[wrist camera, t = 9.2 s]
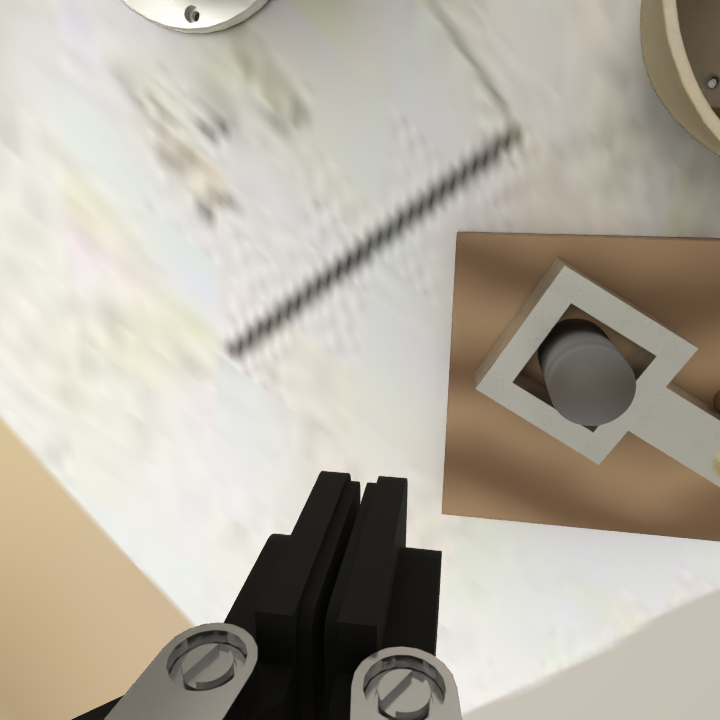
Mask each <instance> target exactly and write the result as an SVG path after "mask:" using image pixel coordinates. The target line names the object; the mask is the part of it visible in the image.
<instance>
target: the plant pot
mask: <svg viewBox="0 0 720 720" xmlns="http://www.w3.org/2000/svg"><path fill="white" fill-rule="evenodd" d="M640 33H641V45H642V52H643V58H644V62H645V66H646V70H647V73H648V76H649V78H650V81H651V83H652V85H653V88H654V89H655V91H656V93H657V95H658V97H659V98H660V100H661V102H662V103H663V105H664V106H665V107H666V109H667V110H668V112H669V113H670V114H671V115H672V117H673V118H674V119H675V120H676V121H677V122H678V123H679V124H680V125H681V126H682V127H683V128H684V129H685V130H686V131H687V132H688V133H689V134H690V135H691V136H692V137H694V138H695V139H696V140H697V141H699V142H700V143H701V144H702V145H704V146H705V147H706V148H708V149H709V150H711V151H712V152H714V153H715V154H717V155H718V156H719V157H720V0H642V1H641V13H640ZM712 77H717V78H718V83H717V85H716V86H715V87H714V88H709V86H708V81H709V80H710V78H712Z"/></svg>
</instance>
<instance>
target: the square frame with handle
mask: <svg viewBox="0 0 720 720" xmlns="http://www.w3.org/2000/svg"><path fill="white" fill-rule="evenodd" d="M571 303H572V304H573V305H575V306H577V307H578V308H580V309H581V310H583V311H585V312H586V313H588V314H590V315H591V316H593V317H594V318H596V319H598V320H599V321H601V322H602V323H604V324H606V325H607V326H609V327H610V328H612V329H614V330H615V331H617V332H619V333H620V334H622V335H623V336H625V337H627V338H628V339H630V340H631V341H633V342H635V343H636V344H638V345H637V347H636V348H635V349H634V350H633V352H632V353H631V354H630V355H629V357H628V358H627V359H626V361H627V363H628V364H629V365H630V367H631V369H632V370H633V373H634V375H635V379H636V392H635V396H634V399H633V401H632V403H631V405H630V406H629V408H628V409H627V410H626V411H625V412H624V413H623V414H622V415H621V416H620V417H618V418H617V419H615V420H613V421H611V422H609V423H606V424H603V425H598V426H584V425H579V424H575V423H573V422H571V421H569V420H567V419H565V418H564V417H563V416H562V415H561V414H559V412H558V411H557V410H556V409H555V407H554V405H553V403H552V401H551V398H550V395H549V392H548V389H547V388H545V387H544V386H542V385H540V384H539V383H537V382H536V381H534V380H532V379H531V378H529V377H527V376H526V375H524V374H523V373H521V372H520V371H521V370H522V369H523V367H524V366H525V365H526V363H527V362H528V360H529V359H530V358H531V356H532V355H533V354H534V352H535V351H536V350H537V348H538V347H539V346H540V344H541V343H542V342H543V340H544V339H545V338H546V336H547V335H548V334H549V332H550V331H551V329H552V328H553V327H554V325H555V324H556V323H557V321H558V320H559V319H560V317H561V316H562V315H563V313H564V312H565V311H566V309H567V308H568V307H569V305H570V304H571ZM697 350H698V348H697V347H696V346H695V345H694V344H692V343H691V342H690V341H689V340H688V339H686V338H685V337H684V336H683V335H682V334H680V333H679V332H677V331H676V330H674V329H673V328H671V327H669V326H668V325H666V324H665V323H663V322H661V321H660V320H658V319H656V318H655V317H653V316H652V315H650V314H648V313H647V312H645V311H644V310H642V309H640V308H639V307H637V306H636V305H634V304H632V303H631V302H629V301H627V300H626V299H624V298H623V297H621V296H619V295H618V294H616V293H615V292H613V291H611V290H610V289H608V288H607V287H605V286H603V285H602V284H600V283H598V282H597V281H595V280H594V279H592V278H590V277H589V276H587V275H586V274H584V273H582V272H581V271H579V270H578V269H576V268H574V267H573V266H571V265H569V264H568V263H566V262H565V261H563V260H561V259H560V258H558V257H557V258H556V259H555V260H554V262H553V263H552V265H551V266H550V267H549V269H548V270H547V272H546V273H545V274H544V276H543V277H542V279H541V280H540V281H539V283H538V284H537V286H536V287H535V288H534V290H533V291H532V293H531V294H530V296H529V297H528V298H527V300H526V301H525V303H524V304H523V305H522V307H521V308H520V310H519V311H518V312H517V314H516V315H515V317H514V318H513V319H512V321H511V322H510V324H509V325H508V327H507V328H506V329H505V331H504V332H503V334H502V335H501V336H500V338H499V339H498V341H497V342H496V343H495V345H494V346H493V348H492V349H491V350H490V352H489V353H488V355H487V356H486V357H485V359H484V360H483V362H482V363H481V365H480V366H479V367H478V369H477V370H476V390H478V391H480V392H481V393H483V394H484V395H486V396H488V397H489V398H491V399H493V400H494V401H496V402H497V403H499V404H501V405H502V406H504V407H506V408H507V409H509V410H510V411H512V412H514V413H515V414H517V415H519V416H520V417H522V418H523V419H525V420H527V421H528V422H530V423H532V424H533V425H535V426H536V427H538V428H540V429H541V430H543V431H545V432H546V433H548V434H549V435H551V436H553V437H554V438H556V439H558V440H559V441H561V442H562V443H564V444H566V445H567V446H569V447H571V448H572V449H574V450H575V451H577V452H579V453H580V454H582V455H584V456H585V457H587V458H588V459H590V460H592V461H593V462H595V463H597V464H598V465H599V464H600V463H601V462H602V461H603V460H604V458H605V457H606V456H607V455H608V454H609V453H610V451H611V450H612V449H613V448H614V447H615V446H616V444H617V443H618V442H619V441H620V440H621V439H622V437H623V436H624V435H625V434H626V433H627V432H628V431H630V432H631V433H633V434H634V435H636V436H638V437H639V438H641V439H642V440H644V441H646V442H647V443H649V444H651V445H652V446H654V447H655V448H657V449H659V450H660V451H662V452H664V453H665V454H667V455H668V456H670V457H672V458H673V459H675V460H676V461H678V462H680V463H681V464H683V465H685V466H686V467H688V468H689V469H691V470H693V471H694V472H696V473H698V474H699V475H701V476H702V477H704V478H706V479H707V480H709V481H711V482H712V483H714V484H715V485H717V486H719V487H720V412H719V411H717V410H716V409H714V408H712V407H711V406H709V405H708V404H706V403H704V402H703V401H701V400H700V399H698V398H696V397H695V396H693V395H691V394H690V393H688V392H687V391H685V390H683V389H682V388H680V387H679V386H677V385H675V384H674V383H672V382H670V381H671V380H672V379H673V378H674V377H675V376H676V374H677V373H678V372H679V371H680V370H681V369H682V367H683V366H684V365H685V364H686V363H687V362H688V360H689V359H690V358H691V357H692V356H693V355H694V353H695V352H696V351H697Z"/></svg>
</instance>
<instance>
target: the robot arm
mask: <svg viewBox="0 0 720 720" xmlns="http://www.w3.org/2000/svg"><path fill="white" fill-rule="evenodd" d="M121 1H122V2H123V3H124V4H125V5H126V6H127V7H128V8H129V9H131V10H132V11H134V12H135V13H137V14H139V15H140V16H142V17H143V18H145V19H147V20H148V21H150V22H153V23H155V24H157V25H160V26H162V27H164V28H167V29H171V30H175V31H179V32H183V33H210V32H214V31H219V30H224V29H227V28H229V27H231V26H233V25H236V24H238V23H240V22H242V21H244V20H246V19H247V18H248V17H250V16H251V15H252V14H254V13H255V12H256V11H258V10H259V9H260V8H262V6H263V5H264V4H265V3H266V2H267V1H268V0H121ZM197 13H199V14H200V15H199V19H198V21H197V22H196V20H195V15H196V14H197ZM407 486H408V484H407V478H396V477H385V476H379V477H378V480H377V483H367V485H366V488H365V491H364V495H363V498H362V501H361V504H360V482H357V481H351V477H350V474H349V473H339V472H327V471H321V473H320V474H319V476H318V479H317V481H316V483H315V485H314V487H313V489H312V491H311V493H310V495H309V498H308V500H307V502H306V504H305V506H304V508H303V510H302V512H301V514H300V517H299V519H298V521H297V523H296V525H295V527H294V529H293V531H292V533H291V535H283V534H272V535H270V537H269V538H268V540H267V542H266V544H265V546H264V547H263V549H262V551H261V553H260V555H259V557H258V559H257V561H256V563H255V564H254V566H253V568H252V570H251V572H250V574H249V576H248V578H247V580H246V581H245V583H244V585H243V587H242V589H241V591H240V593H239V595H238V597H237V599H236V600H235V602H234V604H233V606H232V608H231V610H230V612H229V614H228V616H227V617H226V619H225V621H224V623H210V624H203V625H200V626H196V627H193V628H190V629H188V630H186V631H184V632H183V633H181V634H179V635H177V636H176V637H174V638H173V639H172V640H171V641H170V642H169V643H168V644H167V645H166V646H165V647H164V648H163V649H162V650H161V652H160V653H159V654H158V655H157V656H156V658H155V659H154V660H153V661H152V662H151V664H150V665H149V666H148V667H147V668H146V670H145V671H144V672H143V673H142V674H141V676H140V677H139V678H138V679H137V680H136V682H135V683H134V684H133V685H132V686H131V688H130V689H129V690H128V691H127V692H126V694H125V695H123V696H121V697H119V698H117V699H115V700H113V701H110V702H108V703H106V704H104V705H102V706H100V707H98V708H95V709H93V710H91V711H89V712H87V713H85V714H83V715H80V716H78V717H76V718H74V719H72V720H462V715H461V709H460V702H459V696H458V690H457V686H456V683H455V680H454V677H453V674H452V673H451V672H450V671H449V669H448V668H447V667H446V665H445V664H444V663H443V662H442V661H440V660H439V659H437V658H436V657H435V656H436V642H437V627H438V611H439V594H440V576H441V557H442V551H435V550H426V549H416V548H407V547H406V519H407Z"/></svg>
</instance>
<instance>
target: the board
mask: <svg viewBox="0 0 720 720" xmlns="http://www.w3.org/2000/svg"><path fill="white" fill-rule="evenodd" d="M557 257H558V258H560V259H561V260H563V261H565V262H566V263H568V264H569V265H571V266H573V267H574V268H576V269H578V270H579V271H581V272H582V273H584V274H586V275H587V276H589V277H590V278H592V279H594V280H595V281H597V282H598V283H600V284H602V285H603V286H605V287H607V288H608V289H610V290H611V291H613V292H615V293H616V294H618V295H619V296H621V297H623V298H624V299H626V300H627V301H629V302H631V303H632V304H634V305H636V306H637V307H639V308H640V309H642V310H644V311H645V312H647V313H648V314H650V315H652V316H653V317H655V318H656V319H658V320H660V321H661V322H663V323H665V324H666V325H668V326H669V327H671V328H673V329H674V330H676V331H677V332H679V333H680V334H682V335H683V336H684V337H685V338H686V339H688V340H689V341H690V342H691V343H692V344H694V345H695V346H696V347H697V348H698V350H697V351H696V352H695V353H694V355H693V356H692V357H691V358H690V359H689V360H688V362H687V363H686V364H685V365H684V366H683V367H682V369H681V370H680V371H679V372H678V373H677V374H676V376H675V377H674V378H673V379H672V380H671V381H670V382H672V383H674V384H675V385H677V386H679V387H680V388H682V389H683V390H685V391H687V392H688V393H690V394H691V395H693V396H695V397H696V398H698V399H700V400H701V401H703V402H704V403H706V404H708V405H709V406H711V407H712V408H714V409H716V410H717V411H719V412H720V238H693V237H653V236H612V235H572V234H531V233H491V232H457V240H456V258H455V277H454V295H453V314H452V333H451V351H450V370H449V388H448V407H447V426H446V444H445V463H444V482H443V500H442V514H446V515H457V516H467V517H477V518H487V519H497V520H507V521H518V522H528V523H538V524H548V525H558V526H568V527H579V528H589V529H599V530H609V531H619V532H629V533H640V534H650V535H660V536H670V537H680V538H690V539H700V540H711V541H720V487H719V486H717V485H715V484H714V483H712V482H711V481H709V480H707V479H706V478H704V477H702V476H701V475H699V474H698V473H696V472H694V471H693V470H691V469H689V468H688V467H686V466H685V465H683V464H681V463H680V462H678V461H676V460H675V459H673V458H672V457H670V456H668V455H667V454H665V453H664V452H662V451H660V450H659V449H657V448H655V447H654V446H652V445H651V444H649V443H647V442H646V441H644V440H642V439H641V438H639V437H638V436H636V435H634V434H633V433H631V432H630V431H628V432H627V433H626V434H625V435H624V436H623V437H622V439H621V440H620V441H619V442H618V443H617V444H616V446H615V447H614V448H613V449H612V450H611V451H610V453H609V454H608V455H607V456H606V457H605V458H604V460H603V461H602V462H601V463H600V464H599V465H598V464H597V463H595V462H593V461H592V460H590V459H588V458H587V457H585V456H584V455H582V454H580V453H579V452H577V451H575V450H574V449H572V448H571V447H569V446H567V445H566V444H564V443H562V442H561V441H559V440H558V439H556V438H554V437H553V436H551V435H549V434H548V433H546V432H545V431H543V430H541V429H540V428H538V427H536V426H535V425H533V424H532V423H530V422H528V421H527V420H525V419H523V418H522V417H520V416H519V415H517V414H515V413H514V412H512V411H510V410H509V409H507V408H506V407H504V406H502V405H501V404H499V403H497V402H496V401H494V400H493V399H491V398H489V397H488V396H486V395H484V394H483V393H481V392H480V391H478V390H476V370H477V369H478V367H479V366H480V365H481V363H482V362H483V360H484V359H485V357H486V356H487V355H488V353H489V352H490V350H491V349H492V348H493V346H494V345H495V343H496V342H497V341H498V339H499V338H500V336H501V335H502V334H503V332H504V331H505V329H506V328H507V327H508V325H509V324H510V322H511V321H512V319H513V318H514V317H515V315H516V314H517V312H518V311H519V310H520V308H521V307H522V305H523V304H524V303H525V301H526V300H527V298H528V297H529V296H530V294H531V293H532V291H533V290H534V288H535V287H536V286H537V284H538V283H539V281H540V280H541V279H542V277H543V276H544V274H545V273H546V272H547V270H548V269H549V267H550V266H551V265H552V263H553V262H554V260H555V259H556V258H557ZM637 345H638V344H636V343H635V342H633V341H631V340H630V339H628V338H627V337H625V336H623V335H622V334H620V333H619V332H617V331H615V330H614V329H612V328H610V327H609V326H607V325H606V324H604V323H602V322H601V321H599V320H598V319H596V318H594V317H593V316H591V315H590V314H588V313H586V312H585V311H583V310H581V309H580V308H578V307H577V306H575V305H573V304H572V303H571V304H570V305H569V307H568V308H567V309H566V311H565V312H564V313H563V315H562V316H561V317H560V319H559V320H558V321H557V323H556V324H555V325H554V327H553V328H552V329H551V331H550V332H549V334H548V335H547V336H546V338H545V339H544V340H543V342H542V343H541V344H540V346H539V347H538V348H537V350H536V351H535V352H534V354H533V355H532V356H531V358H530V359H529V360H528V362H527V363H526V365H525V366H524V367H523V369H522V370H521V371H520V372H521V373H523V374H524V375H526V376H527V377H529V378H531V379H532V380H534V381H536V382H537V383H539V384H540V385H542V386H544V387H545V388H547V389H548V392H549V395H550V398H551V401H552V403H553V405H554V407H555V409H556V410H557V411H558V412H559V414H561V415H562V416H563V417H564V418H565V419H567V420H569V421H571V422H573V423H575V424H579V425H584V426H598V425H603V424H606V423H609V422H611V421H613V420H615V419H617V418H618V417H620V416H621V415H622V414H623V413H624V412H625V411H626V410H627V409H628V408H629V406H630V405H631V403H632V401H633V399H634V396H635V392H636V379H635V375H634V373H633V370H632V369H631V367H630V365H629V364H628V363H627V361H626V359H627V358H628V357H629V355H630V354H631V353H632V352H633V350H634V349H635V348H636V347H637Z"/></svg>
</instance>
